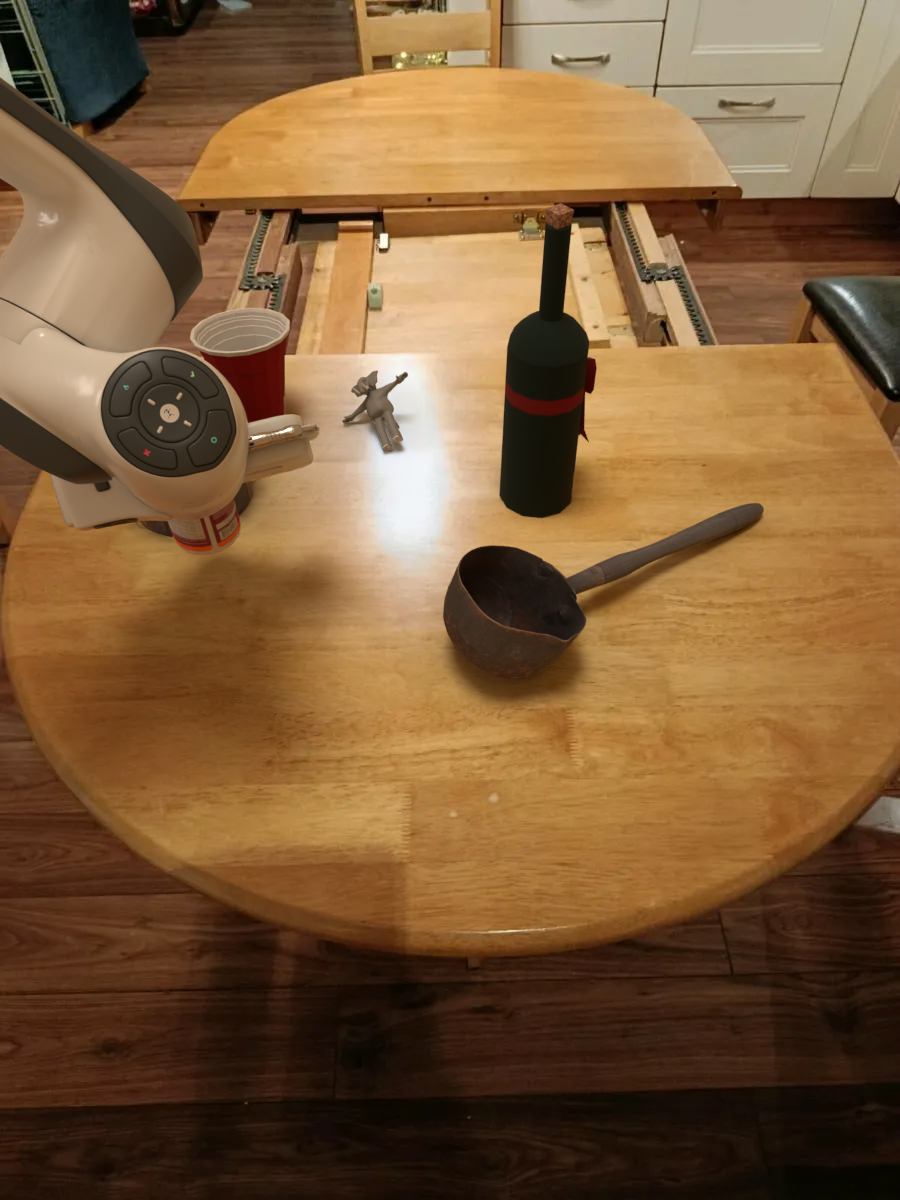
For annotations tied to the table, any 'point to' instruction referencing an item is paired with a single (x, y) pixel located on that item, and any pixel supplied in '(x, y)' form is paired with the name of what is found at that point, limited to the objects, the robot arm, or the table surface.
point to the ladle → (545, 597)
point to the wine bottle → (545, 389)
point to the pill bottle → (207, 531)
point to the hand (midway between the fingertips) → (191, 482)
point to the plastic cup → (248, 356)
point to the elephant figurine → (378, 407)
